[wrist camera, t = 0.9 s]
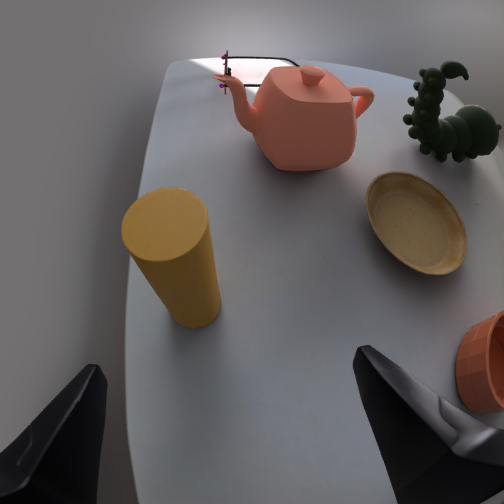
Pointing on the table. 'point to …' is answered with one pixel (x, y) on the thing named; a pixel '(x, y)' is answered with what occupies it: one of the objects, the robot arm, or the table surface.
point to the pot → (482, 366)
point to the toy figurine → (449, 119)
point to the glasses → (246, 57)
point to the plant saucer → (416, 223)
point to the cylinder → (175, 253)
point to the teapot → (301, 116)
